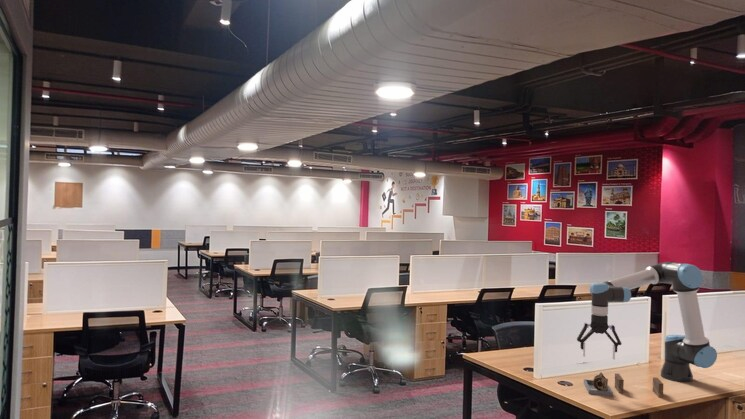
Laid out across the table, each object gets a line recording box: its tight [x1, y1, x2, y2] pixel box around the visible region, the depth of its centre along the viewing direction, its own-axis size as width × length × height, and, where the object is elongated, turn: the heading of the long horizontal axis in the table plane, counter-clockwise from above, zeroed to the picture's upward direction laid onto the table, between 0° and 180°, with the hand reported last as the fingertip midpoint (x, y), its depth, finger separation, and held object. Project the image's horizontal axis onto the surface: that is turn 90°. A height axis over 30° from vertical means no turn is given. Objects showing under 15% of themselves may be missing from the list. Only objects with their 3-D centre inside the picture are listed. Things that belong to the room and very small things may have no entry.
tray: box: [583, 378, 614, 397], centre depth 254 cm, size 11×17×2 cm, turn 165°
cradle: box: [614, 373, 664, 399], centre depth 252 cm, size 19×10×7 cm, turn 75°
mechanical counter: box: [592, 372, 609, 391], centre depth 252 cm, size 7×13×10 cm, turn 169°
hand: (598, 357), depth 254 cm, fingers open, 13 cm apart
